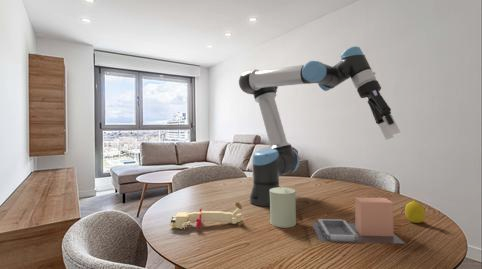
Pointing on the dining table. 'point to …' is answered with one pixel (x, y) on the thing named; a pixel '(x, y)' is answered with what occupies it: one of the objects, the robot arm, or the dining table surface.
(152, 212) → the dining table surface
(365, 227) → the terracotta block
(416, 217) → the lemon
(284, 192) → the can
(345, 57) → the robot arm
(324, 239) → the pocket plate
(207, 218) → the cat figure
